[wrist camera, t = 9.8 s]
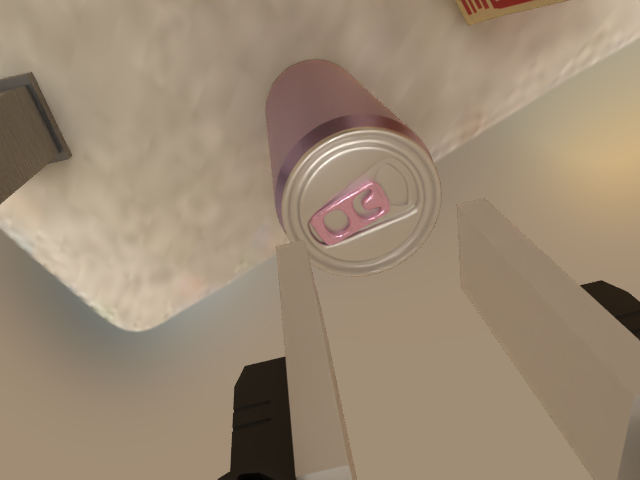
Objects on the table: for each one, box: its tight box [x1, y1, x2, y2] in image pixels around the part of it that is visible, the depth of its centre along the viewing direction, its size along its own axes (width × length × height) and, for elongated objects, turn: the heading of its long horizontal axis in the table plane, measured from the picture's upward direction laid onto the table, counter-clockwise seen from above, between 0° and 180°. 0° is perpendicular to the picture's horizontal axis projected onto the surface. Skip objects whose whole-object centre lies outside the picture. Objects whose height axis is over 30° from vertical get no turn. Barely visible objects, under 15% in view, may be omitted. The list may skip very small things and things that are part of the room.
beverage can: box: [266, 60, 441, 277], centre depth 22 cm, size 6×6×15 cm
